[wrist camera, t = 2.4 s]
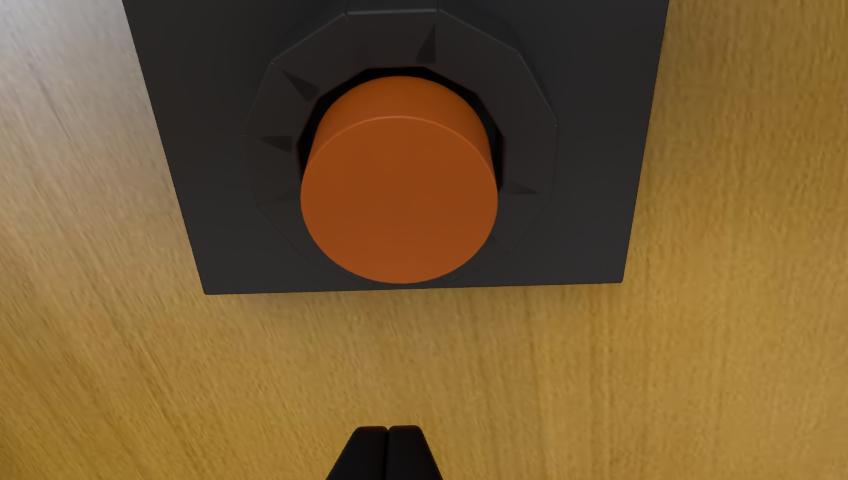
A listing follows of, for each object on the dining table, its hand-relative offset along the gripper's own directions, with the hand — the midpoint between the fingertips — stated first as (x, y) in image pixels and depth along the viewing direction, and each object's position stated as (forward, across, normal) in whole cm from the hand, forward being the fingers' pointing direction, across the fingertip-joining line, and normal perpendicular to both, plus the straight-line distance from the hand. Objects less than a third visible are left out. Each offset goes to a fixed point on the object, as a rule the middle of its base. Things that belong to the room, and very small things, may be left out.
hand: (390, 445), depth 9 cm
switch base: (+12, 0, 0) cm, 12 cm away
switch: (+8, 0, 0) cm, 8 cm away
